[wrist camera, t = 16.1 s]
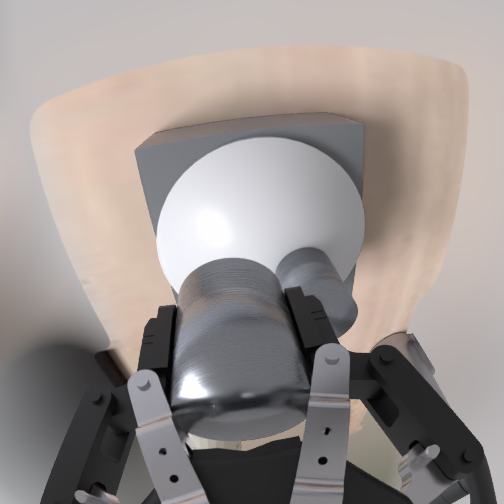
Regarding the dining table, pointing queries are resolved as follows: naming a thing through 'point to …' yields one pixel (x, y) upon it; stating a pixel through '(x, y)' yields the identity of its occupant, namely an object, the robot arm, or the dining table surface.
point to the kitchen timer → (214, 443)
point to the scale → (255, 191)
